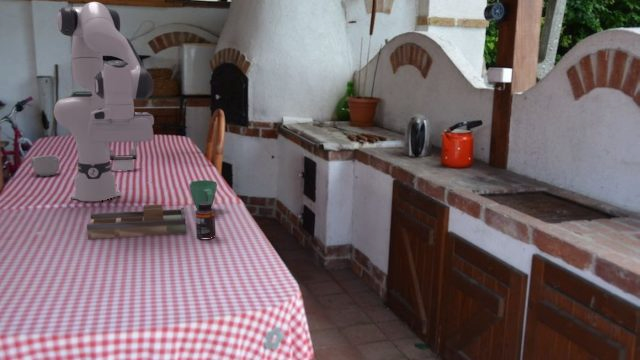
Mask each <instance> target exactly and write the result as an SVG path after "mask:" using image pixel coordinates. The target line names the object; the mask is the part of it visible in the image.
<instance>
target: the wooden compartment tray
mask: <svg viewBox="0 0 640 360" xmlns="http://www.w3.org/2000/svg"><path fill="white" fill-rule="evenodd" d="M186 221H187V219H186V214H185V207H180V209H179V208H178V209H163V220H157V221H144V210H140V211H138V210H137V211H120V212H119V211H117V212H100V213H99V212H97V213H96V212H95V213H90V221H89V223H87V224H86V231H87V232H86V233H87V239H88V240H92V239H93V240H95V239H107V238H108V239H109V238H110V239H111V238H126V237H127V238H129V237H143V236H144V237H145V236H160V235H178V233H179V234H180V233H181V234H187V222H186ZM181 234H180V235H181Z"/></svg>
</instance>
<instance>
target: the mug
mask: <svg viewBox="0 0 640 360" xmlns="http://www.w3.org/2000/svg"><path fill="white" fill-rule="evenodd" d="M217 187H218V183H217V181H214V180H207V179H204V180H201V179H200V180H194V181H191V182H190V183H189V190H190V196H191V197H192V201H193V203H194V205H195V206H194V207H195V208H196V211H197V210H198V209H199V207H198V206H199V205H198V204H199V203H200V202H211V208H212V207H213V204H214V201H215V197H216V194H217V193H216V192H217Z"/></svg>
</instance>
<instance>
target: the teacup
mask: <svg viewBox="0 0 640 360" xmlns="http://www.w3.org/2000/svg"><path fill="white" fill-rule="evenodd" d="M29 160H30V161H29V162H30V164H31V166H32V167H33V170H34V173H35V174H36V175H38V176H39V175H40V176H39V177H44V176H46V177H51V176H50V175H53V176H55V175H56V174H57V173H58V172H60V171H59V170H60V159H59V156H58V155H50V154H49V155H40V156H32V157H31V158H30V159H29Z"/></svg>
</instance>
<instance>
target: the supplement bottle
mask: <svg viewBox="0 0 640 360" xmlns="http://www.w3.org/2000/svg"><path fill="white" fill-rule="evenodd" d="M198 205H199V206H198V207H199V209H198V210H197V209H196V211H195V227H196V228H195V229H196V232H195V233H196V239H199V238H211V237H214V236H215V237H216V216H215V215H216V213H215V212H216V211H215V210H214V209H213V208H212V207H211V202H200V203H199V204H198ZM215 237H214V238H215Z"/></svg>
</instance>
